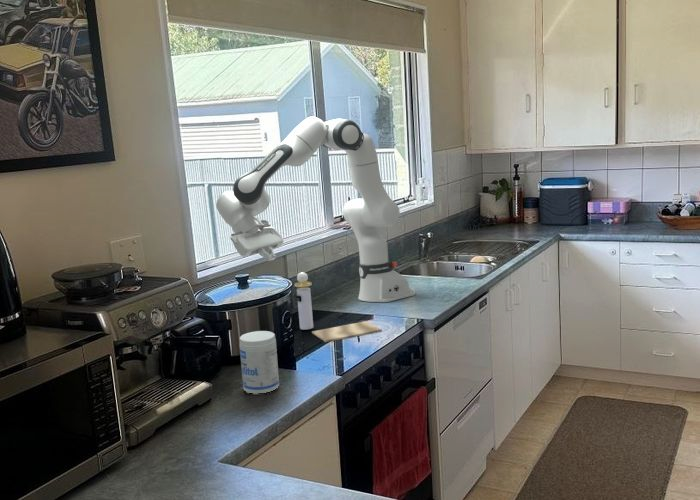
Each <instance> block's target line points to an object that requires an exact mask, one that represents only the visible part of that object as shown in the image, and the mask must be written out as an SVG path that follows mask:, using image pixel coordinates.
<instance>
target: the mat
mask: <svg viewBox="0 0 700 500" xmlns="http://www.w3.org/2000/svg"><path fill="white" fill-rule="evenodd" d="M382 331H383V329H381V328H380V327H378V326H376V325H374V324H373V323H371V322H369V321H367V320H365V321H364V320H363V321H359V322H356V323H355V322H353V323H349V324H344V325H338V326H334V327H328V328H322V329H318V330H312V331H311V334H312V335H314V336H316V337H317V339H318V338H319V339H320V340H322V342H324V343H330V342H335V341H340V340H344V339H350V338H354V337H355V338H356V337H359V336H364V335H370V334H374V333H378V332H382Z"/></svg>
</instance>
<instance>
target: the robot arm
mask: <svg viewBox="0 0 700 500" xmlns="http://www.w3.org/2000/svg"><path fill="white" fill-rule="evenodd" d="M322 146H323V147H324V148H326V149H329V150H330V149H333V150H340V151H341V150H344V152H345V153H346V155H347V160H348V168H349V174H350V179H351V185H352V187H353V188H354V189H355V190H356V191H357V192H358V193H359V195H360V196H361V197H359V198H358V197H357V198H353V199H350V200H348V201H347V202H346V203H345V204H344V206H343V210H342V215H343V219H344V220H345V222H347V223H348V225H349V226H350V227H351V230H352V231H353V234H354V236H355V238H356V241H357V246H358V254H359V263H358V273H359V278H360V282H359V283H360V284H359V292H358V293H359V294H358V297H357V298H358V300H359V301H363V302H370V303H374V302H375V303H377V302H379V303H389V302H393V301H397V300H401V299H405V298H408V297H409V298H410V297H412V296H416V292H415V290H414V289H412V288H410V285H409V282H408V279H407V278H406V277H405V276H404V275H402V274H400V273H399V272H397V271H396V270H395V269H394V268H397V267H398V266H399V265H398V263H397V262H396V261H390V260H389V253H388V252H389V251H388V243H387V242H388V241H387V240H386V239H385V238H384V237H383V236H382V235H381V233H380V231H379V229H385V228H390V227H393V226H395V225H396V224H397V223H398V222H399V219H400V215H401V212H400V208H399V205H398V204H397V203H396V202H395V201H393V199H392V198H391V197H390V196H389V194H388V192H387V190H386V188H385V186H384V184H383V181H382V177H381V172H380V165H379V161H378V160H379V158H378V155H377V150H376V145H375V144H374V139H373V138H372V137H371V135H369V134H367V133H363V132H362V130H361V128H360V127H359V125H358V124H357V123H356V122H355V121H354V120H352V119H351V120H350V119H346V118H345V119H343V118H335V119H328V120H325V121H323V120H322V119H320V118H318V117H315V116H309V117H307V118H306V119H304V120H303V121H301V122H300V123H299V124H298V125H297V126H296V127H295V128H294V129H293V130H292V131H291V132H290V133H289V134H288V135H287V136H286V137H285V139H284V140H283V141H282V142H281V143H280V144H278V145H277V146H276V147H274V148H273V149H272V150H271V151H270V152H269V153H268V154H266V156H265V157H264V158H262V160H260V162H259V163H257V164H256V165H255V166H254V167H253V168H252V169H251V170H249V171H247V172H246V173H244V174H242V175H240V176H239V177H237V178H236V180H235V181H234V183H233V187H232V190H227V191H224V192H222V193H221V194H220V195H219V196H218V198H217V200H216V204H215V205H216V209H217V211H218V213H219V215H220V216H221V218H222V219H223V220H224V222H225V223H226V224H227V225H228V226H230V227H231V230H232V232H233V233H231V234H230V236H229V238H230V241H231V242H232V244H233V246H234V248H235V250H236V251H237V252H238V254H239V255H240V256H242V257H243V258H245V257H249V256H253V255H257V254H258V255H259V256H261V257H262V258H265V259H266V260H267V261H268V262H270V261H274V260H276V258H277V256H276V254H275V253H274V250H275V249H279V248H280V247H281V246H282V245H283V243H284V238H283V236H282V235H281V234H280V233H279V231H278V230H277V229H276V228H275V227H273V226H271V225H272V224H271V223H272V222H271V221H269V220H268V219H267V220H266V219H260V218H258V217H256V218H255V216H258V215H259V214H261V213H263V212H265V211H266V209H268V208H269V205H270V202H271V200H270V194H269V193H268V191H267V189H266V188H265V186H266V183H268V181H269V180H270V179H271V178H272V177H273V176H274V175H275V174H276V173H277V172H278V171H279V170H281V168H283V167H284V166H291V167H302V166H303V165H304V164H306V162H308V161H309V160H310V159H311V158H312V156H314V154H315V153H316V152H317V150H318V149H319V148H320V147H322Z"/></svg>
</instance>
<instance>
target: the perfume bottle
mask: <svg viewBox="0 0 700 500" xmlns="http://www.w3.org/2000/svg"><path fill="white" fill-rule="evenodd" d="M308 279H309V276H308V274H307V273H306V272H304V271H303V272H298V273H297V276H296V280H297V281H298V282H295V283H294V287H296V288H297V289H296V291H295V295H294V296H295V297H294V298H295V301H296V302H297V307H298V308H297V309H298V319H299V320H298V321H299V329H300V330H303V331H304V330H311V329H314V320H313V319H314V318H313V308H312V305H313V304H312V296H311V295H312V294H311V288H310V286H312V285H313V284H312V281H308Z"/></svg>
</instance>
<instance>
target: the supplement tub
mask: <svg viewBox="0 0 700 500" xmlns="http://www.w3.org/2000/svg"><path fill="white" fill-rule="evenodd" d="M277 348H278V347H277V339H276V334H275V333H274V332H272V331H268V330H255V331H251V332H250V331H249V332H247V333H244V334H241V336H239V354H240V366H241V377H242V378H241V379H242V388H243V390H244V392H245V391H246V393H247V394H249V393H253V394H252V395H259V394H258V393H266V392H270V391H273V390H275V389H276V388H277V389H278V388H279V387H278V386H280V379H279V365H278V353H277V351H278V349H277ZM277 389H276V390H277ZM276 390H275V391H276ZM273 392H274V391H273ZM270 393H271V392H270Z"/></svg>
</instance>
